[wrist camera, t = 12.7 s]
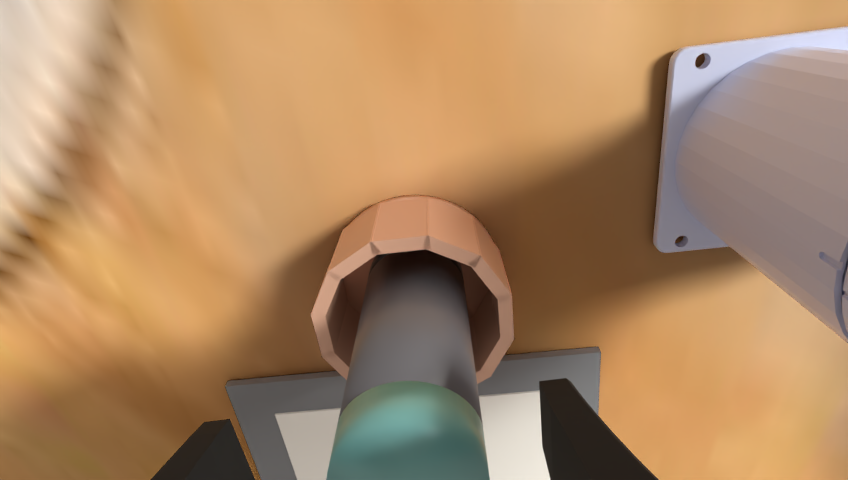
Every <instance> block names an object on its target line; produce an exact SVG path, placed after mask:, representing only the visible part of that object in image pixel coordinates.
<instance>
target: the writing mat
mask: <svg viewBox="0 0 848 480" xmlns="http://www.w3.org/2000/svg"><path fill="white" fill-rule="evenodd" d="M600 360H601V351H600V349H599V347H589V348H579V349H568V350H557V351H546V352H535V353H524V354H513V355H504V356H503V358H502V359H501V361H500V363H499V364H498V366H497V367H496V369H495V371H494V372H493V374H492V375H491V377H489V378H487V379H486V380H484V381H482V382H480V383H478V384H477V386H478V393H479V401H480V408H481V416H482V424H483V431H484V439H485V446H486V454H487V461H488V469H489V477H490V480H550V476H549V472H548V468H547V464H546V459H545V455H544V451H543V447H542V431H541V410H540V390H539V381H545V380H553V379H561V378H567V379H568V380H570V381H571V382H572V384H573V385H574V386H575V388H576V389H577V390H578V392H579V393H580V394H581V395H582V397H583V398H584V399H585V400H586V402H587V403H588V404H589V405H590V407H591V408H592V409H593V410H594V411H595V413H596V414H597V415H598V407H599V384H600ZM346 381H347V380H346V379H345V378H344V377H343V376H341V375H340V374H339V373H338V372H337V371H329V372H318V373H308V374H297V375H286V376H275V377H264V378H253V379H243V380H232V381H228V382H227V384H226V386H225V388H226V391H227V393H228V396H229V398H230V401H231V403H232V406H233V408H234V411H235V414H236V416H237V419H238V421H239V424H240V426H241V429H242V431H243V434H244V437H245V439H246V442H247V444H248V447H249V449H250V452H251V455H252V457H253V460H254V462H255V465H256V467H257V470H258V472H259V475H260V478H261V480H326V478H327V472H328V467H329V462H330V457H331V453H332V448H333V443H334V438H335V434H336V429H337V424H338V419H339V415H340V410H341V405H342V400H343V395H344V391H345V386H346Z"/></svg>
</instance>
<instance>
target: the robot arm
mask: <svg viewBox="0 0 848 480" xmlns="http://www.w3.org/2000/svg"><path fill="white" fill-rule="evenodd" d="M702 53H703V54H704V55H705V61H704V63H703V64H702V65H701V66H700V67H696V66H695V61H696V58H697V57H698V56H699V55H700V54H702ZM679 236H684V237H683V240H681V241H680V242H678V243H675V241H676V239H677V238H678V237H679ZM653 243H654V245H655V247H656V248H657V249H658V250H659V251H660V252H662V253H672V252H682V251H692V250H701V249H711V248H721V247H731V248H732V249H733V250H735V251H736V252H737V253H738V254H739V255H741V256H742V257H743V258H744V259H746V260H747V261H748V262H749V263H751V264H752V265H753V266H754V267H755V268H757V269H758V270H759V271H760V272H762V273H763V274H764V275H765V276H766V277H768V278H769V279H770V280H771V281H773V282H774V283H775V284H776V285H777V286H779V287H780V288H781V289H782V290H784V291H785V292H786V293H787V294H788V295H790V296H791V297H792V298H793V299H795V300H796V301H797V302H798V303H800V304H801V305H802V306H803V307H804V308H806V309H807V310H808V311H809V312H811V313H812V314H813V315H814V316H815V317H817V318H818V319H819V320H820V321H822V322H823V323H824V324H825V325H826V326H828V327H829V328H830V329H831V330H833V331H834V332H835V333H836V334H838V335H839V336H840V337H841V338H842V339H844V340H845V341H846V342H847V343H848V26H845V27H837V28H829V29H821V30H813V31H805V32H797V33H789V34H782V35H774V36H766V37H758V38H750V39H742V40H734V41H726V42H719V43H711V44H703V45H695V46H687V47H683V48H680V49H678V50H677V51H676V52H674V54H673V55H672V56H671V58H670V62H669V69H668V80H667V91H666V102H665V113H664V124H663V135H662V147H661V158H660V169H659V180H658V191H657V202H656V213H655V224H654V235H653ZM539 390H540V410H541V431H542V447H543V451H544V455H545V459H546V464H547V468H548V472H549V476H550V480H658V479H657V478H656V477H655V476H654V475H653V474H652V473H651V472H650V471H649V470H648V469H647V468H646V467H645V466H644V465H643V464H642V463H641V462H640V461H639V460H638V459H637V458H636V457H635V456H634V455H633V454H632V452H631V451H630V450H629V449H628V448H627V447H626V446H625V445H624V444H623V443H622V442H621V441H620V440H619V439H618V437H617V436H616V435H615V434H614V433H613V432H612V431H611V430H610V429H609V428H608V426H607V425H606V424H605V423H604V422H603V421H602V420H601V418H600V417H599V416H598V415H597V414H596V413H595V411H594V410H593V409H592V408H591V407H590V405H589V404H588V403H587V402H586V400H585V399H584V398H583V397H582V395H581V394H580V393H579V392H578V390H577V389H576V388H575V386H574V385H573V384H572V382H571V381H570V380H568V379H567V378H561V379H553V380H545V381H539ZM151 480H255V479H254V476H253V474H252V472H251V469H250V467H249V464H248V462H247V460H246V457H245V455H244V452H243V450H242V448H241V445H240V443H239V440H238V438H237V436H236V433H235V431H234V428H233V426H232V424H231V421H230V419H226V420H218V421H210V422H204V423H203V424H202V425H201V426H200V427H199V428H198V429H197V430H196V431H195V432H194V433H193V434H192V435H191V436H190V438H189V439H188V440H187V441H186V442H185V443H184V444H183V445H182V446H181V447H180V448H179V449H178V451H177V452H176V453H175V454H174V455H173V456H172V457H171V458H170V459H169V460H168V461H167V463H166V464H165V465H164V466H163V467H162V468H161V469H160V470H159V471H158V472H157V473H156V474H155V476H154V477H153V478H152V479H151Z"/></svg>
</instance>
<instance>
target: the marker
mask: <svg viewBox="0 0 848 480" xmlns="http://www.w3.org/2000/svg"><path fill="white" fill-rule="evenodd" d="M326 480H490V477H489V469H488V461H487V454H486V446H485V439H484V431H483V424H482V416H481V408H480V401H479V393H478V386H477V378H476V371H475V363H474V355H473V348H472V340H471V333H470V325H469V318H468V310H467V302H466V295H465V287H464V280H463V272H462V268H461V265H460V262H458V261H455V260H453V259H450V258H447V257H445V256H442V255H440V254H437V253H434V252H432V251H429V250H427V249H424V250H415V251H406V252H396V253H387V254H377V255H376V256H375V258H374V260H373V262H372V264H371V267H370V272H369V276H368V281H367V286H366V291H365V295H364V300H363V305H362V310H361V315H360V319H359V324H358V329H357V334H356V338H355V343H354V348H353V353H352V357H351V362H350V367H349V372H348V376H347V381H346V386H345V391H344V395H343V400H342V405H341V410H340V415H339V419H338V424H337V429H336V434H335V438H334V443H333V448H332V453H331V457H330V462H329V467H328V472H327V478H326Z"/></svg>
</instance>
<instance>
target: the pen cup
mask: <svg viewBox="0 0 848 480" xmlns="http://www.w3.org/2000/svg"><path fill="white" fill-rule="evenodd" d="M424 249H427V250H429V251H432V252H434V253H437V254H440V255H442V256H445V257H447V258H450V259H453V260H455V261H458V262H460V265H461V268H462V272H463V280H464V287H465V295H466V302H467V310H468V318H469V325H470V333H471V340H472V348H473V355H474V363H475V371H476V378H477V384H478V383H480V382H482V381H484V380H486V379H487V378H489V377H491V375H492V374H493V372H494V371H495V369H496V367H497V366H498V364H499V363H500V361H501V359H502V358H503V356H504V355H505V353H506V351H507V350H508V348H509V347H510V345H511V343H512V342H513V340H514V339H515V338H514V326H513V307H512V292H511V289H510V285H509V282H508V278H507V275H506V272H505V268H504V265H503V261H502V258H501V254H500V251H499V249H498V248H497V246H496V245H495V244H494V242H493V241H492V239H491V236H490V235H489V233H488V232H487V230H486V229H485V227H484V226H483V225H482V224H481V223H480V222H479V221H478V219H476V218H475V217H474V216H473V215H472V214H471V213H469V212H468V211H466V210H465V209H463V208H462V207H460V206H458V205H456V204H454V203H452V202H450V201H447V200H443V199H440V198H436V197H431V196H423V195H406V196H399V197H394V198H390V199H387V200H384V201H381V202H379V203H377V204H375V205H372V206H371V207H369V208H367V209H366V210H364V211H363V212H362V213H360V214H359V215H358V216H357V217H356V218H354V220H353V221H352V222H351V223H350V224H349V225H348V226H347V227H346V228H344V229H343V230H342V233H341V235H340V238H339V241H338V244H337V246H336V249H335V252H334V254H333V257H332V260H331V262H330V265H329V267H328V269H327V272H326V274H325V277H324V280H323V282H322V285H321V288H320V290H319V293H318V296H317V298H316V301H315V304H314V306H313V309H312V312H311V317H312V321H313V325H314V329H315V332H316V336H317V340H318V344H319V347H320V351H321V355H322V358H324V359H325V360H326V361H327V362H328V363H329V364H330V365H331V366H332V367H333V368H334V369H335V370H336V371H337V372H338V373H339V374H340V375H341V376H343V377H344V378H345V379H346V380H347V376H348V372H349V367H350V362H351V357H352V353H353V348H354V343H355V338H356V334H357V329H358V324H359V319H360V315H361V310H362V305H363V300H364V295H365V291H366V286H367V281H368V276H369V272H370V267H371V264H372V262H373V260H374V258H375V256H376V255H377V254H387V253H396V252H406V251H415V250H424Z"/></svg>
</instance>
